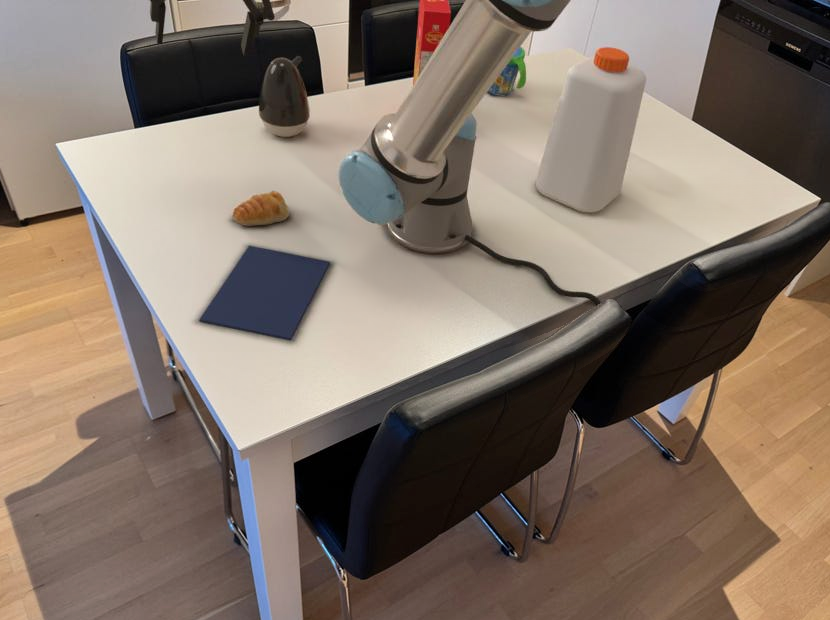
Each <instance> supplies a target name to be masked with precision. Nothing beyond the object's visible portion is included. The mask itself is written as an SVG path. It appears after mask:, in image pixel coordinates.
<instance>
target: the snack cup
mask: <svg viewBox="0 0 830 620" xmlns="http://www.w3.org/2000/svg"><path fill="white" fill-rule="evenodd" d="M525 57H526V51H525V49H524V48H523V47H522V46H520V48H519V49H518V50H517V52H516V53H515V54H514V56H513V57H512V59H511V60H510V61H509V63H508V64H507V65H506V67H505V68H504V69H503V71H502V72H501V74H500V75H499V76H498V78H497V79H496V80H495V82H494V83H493V84H492V86H491V87H490V89H489V90H488V91H487V93H489V94H491V95H493V96H507V95H509V94H510V93H511V92H512V91H513V89H514V86H515V83H516V80H517V77H518V74H519V78H518V82H517V84H516V89H517V90H520V89H522V88H524V87H525V86H526V83H527V67H526V66H527V65H526V62H525Z"/></svg>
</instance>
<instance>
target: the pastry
mask: <svg viewBox="0 0 830 620" xmlns="http://www.w3.org/2000/svg"><path fill="white" fill-rule="evenodd" d="M285 201H286V200H285V198H284V197H283V195H282V194H281V193H280V192H278V191H276V190H272V191H270V192H265V193H260V194H255V195H252V196H251V197H250V198H248V199H247V200H245V201H243V202H241V203H240V204H238V205H237V206H236V207H235V208H234V209H233V211H232V220H233V221H234V222H236V223H238V224H239V225H242V226H246V227H249V226H250V227H254V226H265V225H273V224H274V223H280V222H283V221H285V220H287V218H288V217H289V216H290V212H289V208H288V205H287V204H286V202H285Z"/></svg>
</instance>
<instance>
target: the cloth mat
mask: <svg viewBox="0 0 830 620" xmlns="http://www.w3.org/2000/svg"><path fill="white" fill-rule="evenodd" d="M330 265H331V261H329V260H328V261H327V260H324V259H320V258H319V259H318V258H314V257H309V256H303V255H298V254H293V253H290V252H289V253H288V252H283V251H278V250H274V249H268V248H263V247H258V246H253V245H248V246H247V248H246V249H245V251H244V252H243V254H242V255H241V257H240V258H239V260H238V261H237V262H236V264H235V266H234V267H233V268H232V270H231V272H230V273H229V274H228V276H227V278H226V279H225V281H224V282H223V284H222V285H221V286H220V288H219V290H218V291H217V293H216V294H215V295H214V297H213V298H212V300H211V302H210V303H209V305H208V306H207V307H206V309H205V310H204V312H203V313H202V315H201V316H200V318H199V322H201V323H205V324H210V325H215V326H220V327H224V328H230V329H235V330H240V331H245V332H248V333H249V332H250V333H253V334H260V335H262V336H263V335H264V336H268V337H273V338H278V339H282V340H287V341H291V340H292V338H293V337H294V335H295V333H296V331H297V329H298V327H299V325H300V323H301V321H302V319H303V317H304V315H305V313H306V311H307V309H308V307H309V305H310V303H311V302H312V299H313V298H314V295H315V293H316V291H317V290H318V288H319V286H320V284H321V282H322V280H323V278H324V276H325V273H326V272H327V270H328V268H329V266H330Z"/></svg>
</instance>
